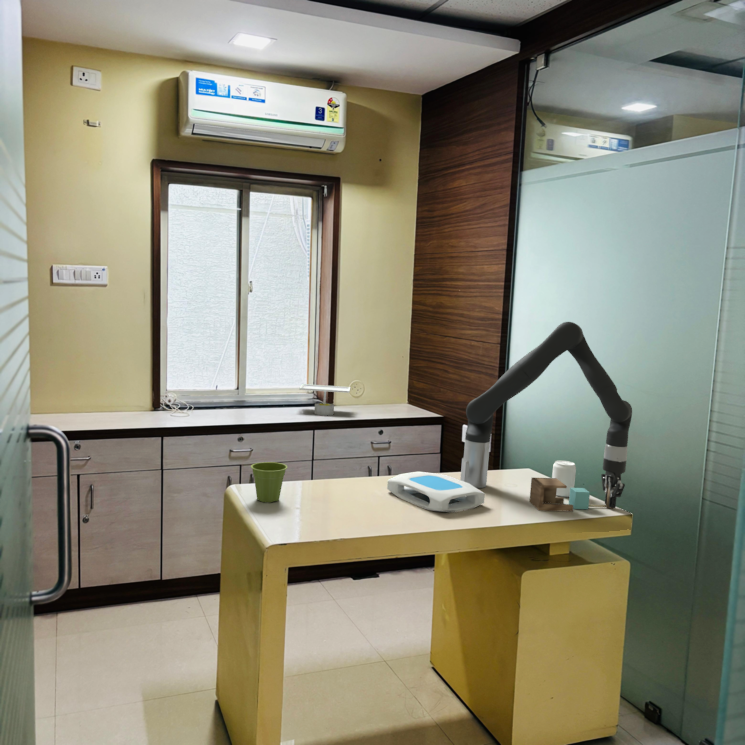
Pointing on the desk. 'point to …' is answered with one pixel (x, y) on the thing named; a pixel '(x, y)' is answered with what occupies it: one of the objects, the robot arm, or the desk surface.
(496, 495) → the desk surface
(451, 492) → the aerobic step platform
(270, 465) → the plant pot
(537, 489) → the walnut cubby
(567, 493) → the beverage can
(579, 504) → the tethered block
